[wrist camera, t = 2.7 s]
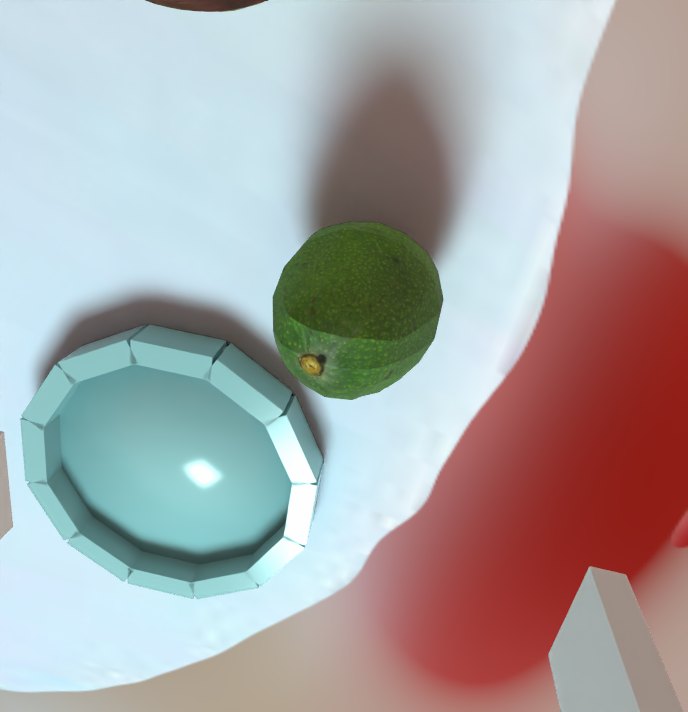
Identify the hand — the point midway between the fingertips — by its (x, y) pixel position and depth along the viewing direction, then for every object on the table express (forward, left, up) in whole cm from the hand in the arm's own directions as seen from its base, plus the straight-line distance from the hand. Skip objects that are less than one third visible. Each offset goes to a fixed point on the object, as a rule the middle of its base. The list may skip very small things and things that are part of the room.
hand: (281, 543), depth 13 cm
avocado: (0, 0, -21) cm, 21 cm away
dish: (+15, -10, -21) cm, 28 cm away
